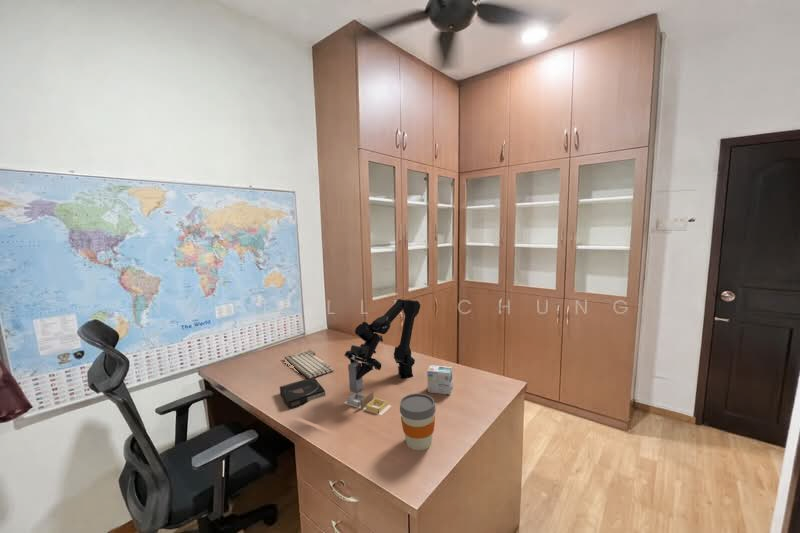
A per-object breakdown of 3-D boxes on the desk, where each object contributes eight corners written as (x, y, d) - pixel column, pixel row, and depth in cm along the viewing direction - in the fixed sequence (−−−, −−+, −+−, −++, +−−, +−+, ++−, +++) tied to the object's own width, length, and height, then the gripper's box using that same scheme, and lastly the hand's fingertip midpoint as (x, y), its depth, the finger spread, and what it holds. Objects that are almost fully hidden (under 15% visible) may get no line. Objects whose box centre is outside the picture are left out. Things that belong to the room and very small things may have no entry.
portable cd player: (289, 410, 139) (288, 402, 139) (280, 394, 154) (279, 386, 153) (325, 398, 148) (325, 390, 147) (314, 384, 162) (313, 376, 162)
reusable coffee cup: (406, 428, 122) (405, 391, 121) (439, 433, 119) (438, 395, 117) (397, 450, 110) (394, 410, 109) (433, 456, 107) (431, 414, 105)
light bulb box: (453, 388, 151) (452, 366, 150) (450, 395, 145) (450, 372, 143) (431, 385, 154) (430, 364, 153) (427, 392, 148) (426, 370, 147)
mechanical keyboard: (339, 370, 177) (339, 364, 176) (307, 382, 165) (306, 376, 164) (310, 352, 206) (309, 347, 205) (280, 361, 194) (280, 356, 193)
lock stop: (363, 389, 141) (361, 363, 140) (357, 393, 138) (355, 366, 136) (356, 387, 143) (354, 361, 142) (350, 391, 140) (348, 365, 138)
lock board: (392, 407, 137) (391, 396, 136) (381, 417, 130) (380, 405, 130) (355, 396, 147) (354, 386, 147) (343, 405, 141) (343, 394, 140)
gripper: (345, 333, 147) (328, 365, 140) (375, 341, 135) (357, 376, 128) (359, 344, 154) (343, 375, 147) (388, 353, 142) (372, 387, 135)
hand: (353, 378), depth 139 cm, fingers closed on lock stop, 4 cm apart
